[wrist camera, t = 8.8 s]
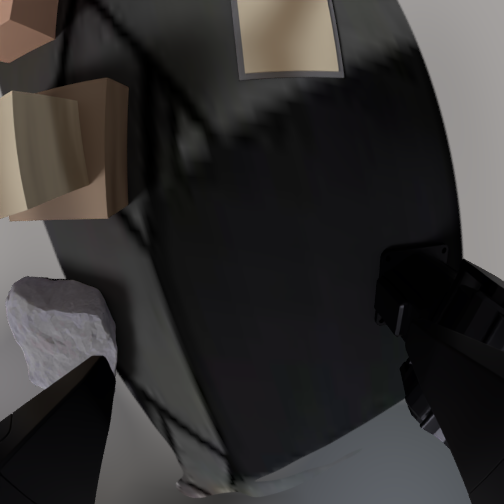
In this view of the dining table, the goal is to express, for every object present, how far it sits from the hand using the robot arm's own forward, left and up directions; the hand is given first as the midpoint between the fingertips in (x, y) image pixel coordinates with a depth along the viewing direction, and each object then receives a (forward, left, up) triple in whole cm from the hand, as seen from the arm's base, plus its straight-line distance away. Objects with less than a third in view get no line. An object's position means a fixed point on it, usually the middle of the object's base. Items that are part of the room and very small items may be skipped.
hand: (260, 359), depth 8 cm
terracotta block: (+15, -19, -13) cm, 28 cm away
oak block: (+11, -7, -9) cm, 16 cm away
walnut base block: (+11, -7, -13) cm, 19 cm away
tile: (-4, -13, -13) cm, 19 cm away
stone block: (+16, +8, -14) cm, 23 cm away
